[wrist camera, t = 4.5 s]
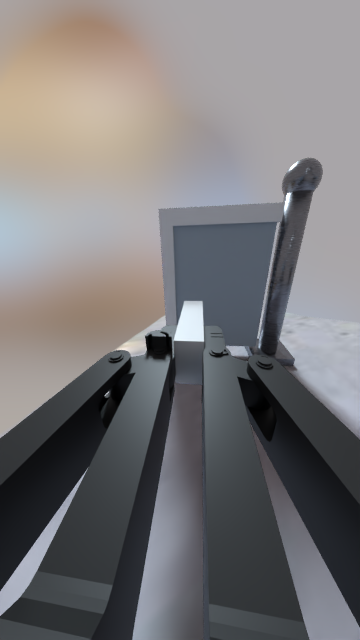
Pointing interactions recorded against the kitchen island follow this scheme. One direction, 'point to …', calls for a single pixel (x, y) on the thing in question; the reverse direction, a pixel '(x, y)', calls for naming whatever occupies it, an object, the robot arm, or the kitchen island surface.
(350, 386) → the kitchen island surface
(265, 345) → the metal joystick
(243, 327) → the panel
